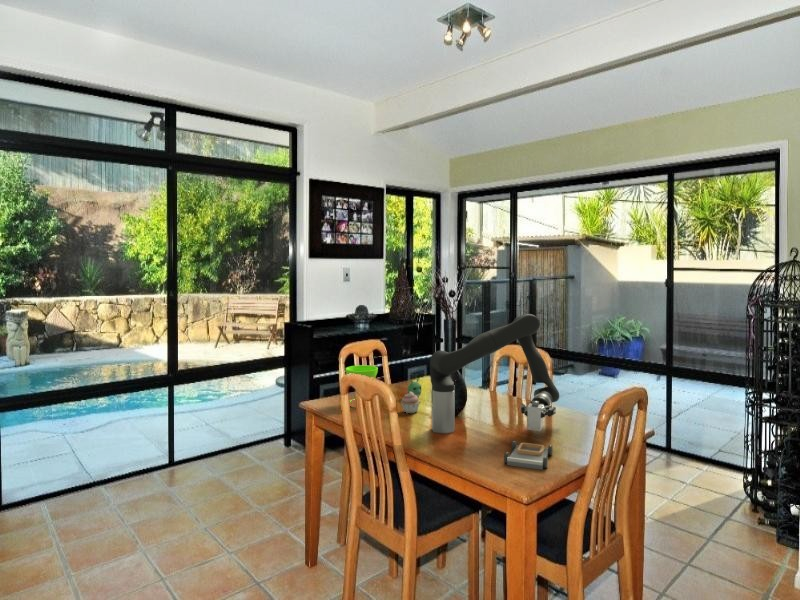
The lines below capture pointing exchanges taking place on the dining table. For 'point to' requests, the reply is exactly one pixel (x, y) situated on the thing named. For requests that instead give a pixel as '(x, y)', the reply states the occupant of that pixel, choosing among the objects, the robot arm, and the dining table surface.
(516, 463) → the chassis
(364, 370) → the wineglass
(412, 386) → the alien toy
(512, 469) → the dining table surface
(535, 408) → the block
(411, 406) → the cupcake
